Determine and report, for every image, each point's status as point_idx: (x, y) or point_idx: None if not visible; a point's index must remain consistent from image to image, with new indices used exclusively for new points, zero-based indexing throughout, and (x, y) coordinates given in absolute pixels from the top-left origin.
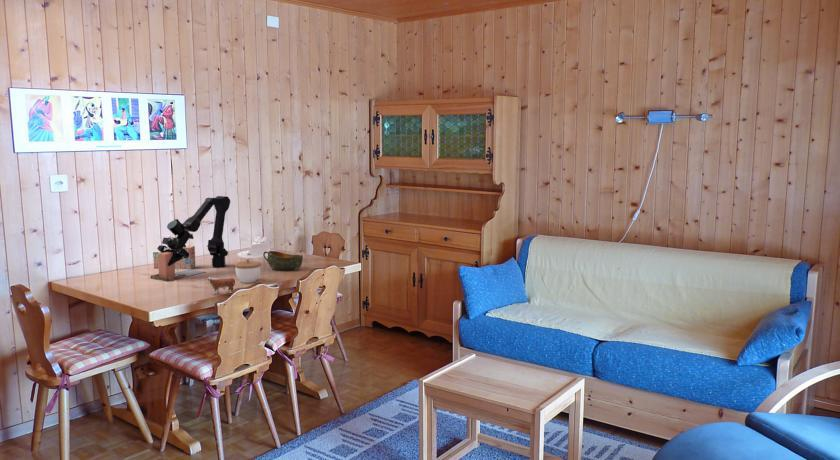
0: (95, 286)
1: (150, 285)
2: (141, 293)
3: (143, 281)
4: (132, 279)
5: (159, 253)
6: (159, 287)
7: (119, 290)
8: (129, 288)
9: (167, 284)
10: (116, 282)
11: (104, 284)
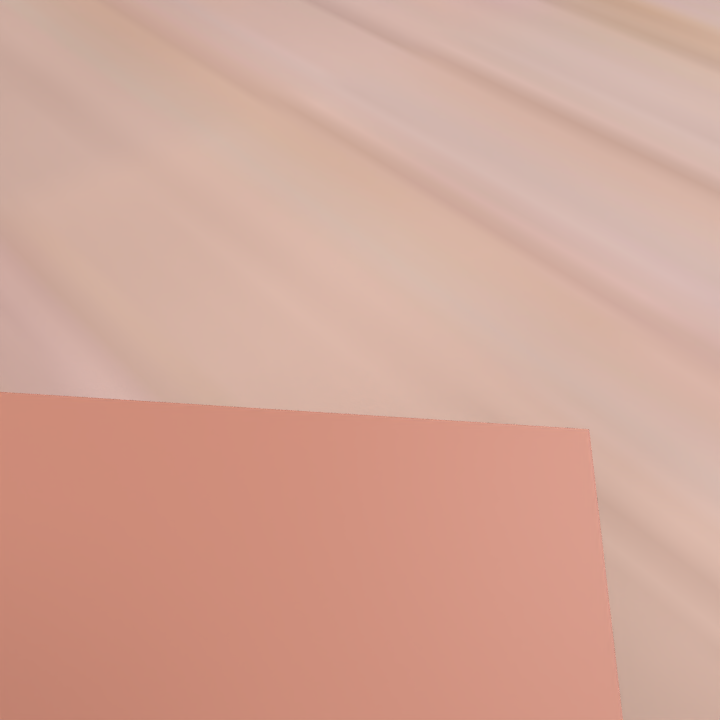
0: (663, 2)
1: (205, 220)
2: (64, 21)
3: (461, 315)
4: (704, 329)
5: (527, 511)
6: (40, 204)
7: (329, 7)
8: (309, 71)
9: (35, 337)
10: (684, 155)
11: (684, 66)
